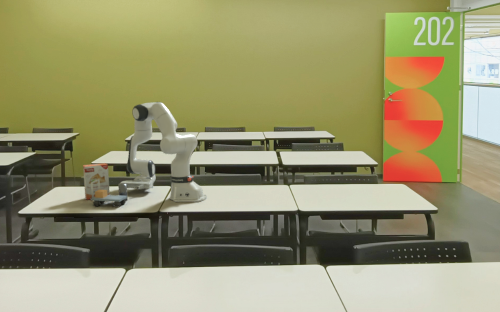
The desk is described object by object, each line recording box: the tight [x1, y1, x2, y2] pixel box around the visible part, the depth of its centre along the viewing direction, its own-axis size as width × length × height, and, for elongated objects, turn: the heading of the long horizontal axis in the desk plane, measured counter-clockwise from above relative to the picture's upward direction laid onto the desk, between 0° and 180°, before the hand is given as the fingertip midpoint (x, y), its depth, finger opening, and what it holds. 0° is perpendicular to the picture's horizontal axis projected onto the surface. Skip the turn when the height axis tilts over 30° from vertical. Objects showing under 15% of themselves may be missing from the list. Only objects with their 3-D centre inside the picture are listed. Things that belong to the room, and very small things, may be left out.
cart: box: [90, 179, 128, 208], centre depth 276 cm, size 18×9×14 cm, turn 77°
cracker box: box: [82, 162, 111, 201], centre depth 292 cm, size 14×6×21 cm, turn 117°
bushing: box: [117, 182, 128, 202], centre depth 286 cm, size 5×5×10 cm
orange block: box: [95, 190, 107, 198], centre depth 277 cm, size 5×5×4 cm
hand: (130, 187), depth 296 cm, fingers open, 8 cm apart
